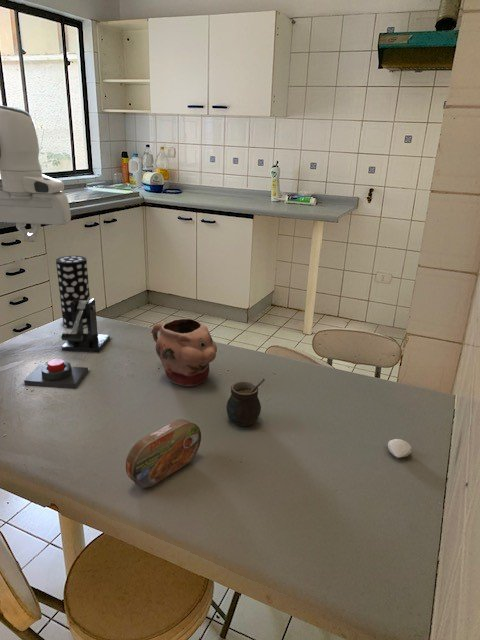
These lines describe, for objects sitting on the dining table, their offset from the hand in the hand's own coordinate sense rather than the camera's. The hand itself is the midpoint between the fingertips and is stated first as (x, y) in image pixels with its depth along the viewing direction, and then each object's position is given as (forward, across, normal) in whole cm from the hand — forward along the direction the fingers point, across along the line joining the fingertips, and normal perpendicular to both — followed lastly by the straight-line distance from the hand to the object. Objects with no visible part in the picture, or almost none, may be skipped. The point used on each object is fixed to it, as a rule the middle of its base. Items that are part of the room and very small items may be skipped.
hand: (30, 241), depth 113 cm
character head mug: (+29, +39, -10) cm, 50 cm away
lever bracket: (+29, +10, +4) cm, 31 cm away
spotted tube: (+29, +2, +18) cm, 34 cm away
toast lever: (+21, +10, +1) cm, 24 cm away
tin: (+29, +42, -44) cm, 67 cm away
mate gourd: (+29, +55, -27) cm, 68 cm away
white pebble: (+29, +85, -35) cm, 96 cm away
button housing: (+29, +10, -15) cm, 34 cm away
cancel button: (+26, +10, -15) cm, 32 cm away
